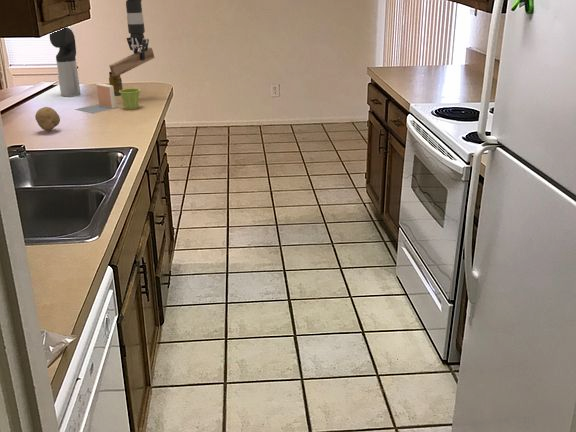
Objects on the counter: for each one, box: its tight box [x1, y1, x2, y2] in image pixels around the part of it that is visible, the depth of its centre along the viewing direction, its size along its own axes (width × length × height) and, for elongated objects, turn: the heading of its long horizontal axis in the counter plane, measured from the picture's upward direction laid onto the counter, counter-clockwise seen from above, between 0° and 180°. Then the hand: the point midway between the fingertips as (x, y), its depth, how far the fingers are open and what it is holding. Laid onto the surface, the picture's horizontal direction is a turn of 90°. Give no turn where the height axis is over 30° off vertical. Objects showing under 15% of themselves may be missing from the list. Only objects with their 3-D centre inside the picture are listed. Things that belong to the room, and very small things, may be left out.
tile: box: [95, 83, 117, 109], centre depth 285 cm, size 10×2×10 cm, turn 53°
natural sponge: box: [35, 106, 61, 133], centre depth 248 cm, size 9×9×10 cm
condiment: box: [108, 71, 124, 97], centre depth 310 cm, size 7×8×12 cm
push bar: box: [109, 47, 156, 76], centre depth 292 cm, size 4×24×5 cm, turn 143°
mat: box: [74, 103, 120, 114], centre depth 284 cm, size 14×15×1 cm
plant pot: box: [119, 87, 141, 110], centre depth 283 cm, size 9×9×9 cm
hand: (139, 59), depth 296 cm, fingers closed on push bar, 3 cm apart
